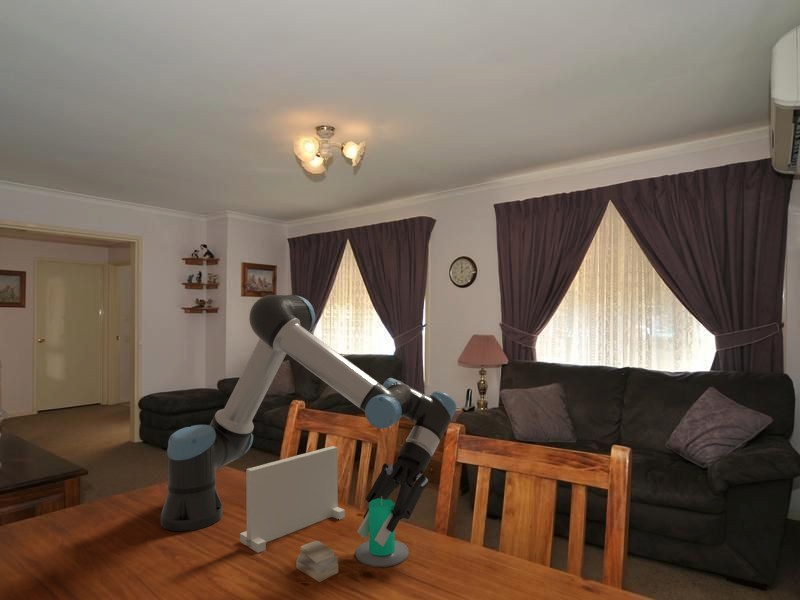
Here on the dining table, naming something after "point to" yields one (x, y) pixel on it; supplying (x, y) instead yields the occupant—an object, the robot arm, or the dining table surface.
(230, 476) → the dining table surface
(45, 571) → the dining table surface
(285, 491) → the standing panel with feet
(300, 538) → the dining table surface
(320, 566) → the offcut stack
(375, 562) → the coaster
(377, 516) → the candle
